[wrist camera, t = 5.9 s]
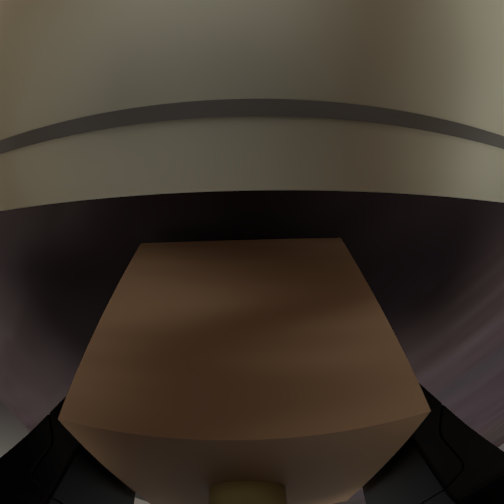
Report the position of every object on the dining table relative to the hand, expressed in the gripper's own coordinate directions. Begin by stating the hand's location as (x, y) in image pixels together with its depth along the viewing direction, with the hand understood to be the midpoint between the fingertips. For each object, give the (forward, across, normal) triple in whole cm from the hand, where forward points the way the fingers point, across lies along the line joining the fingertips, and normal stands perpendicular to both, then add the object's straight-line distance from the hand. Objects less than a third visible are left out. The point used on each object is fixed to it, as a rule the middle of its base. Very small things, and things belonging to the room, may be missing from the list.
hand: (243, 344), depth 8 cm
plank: (+2, -3, -9) cm, 10 cm away
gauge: (+1, 0, 0) cm, 1 cm away
